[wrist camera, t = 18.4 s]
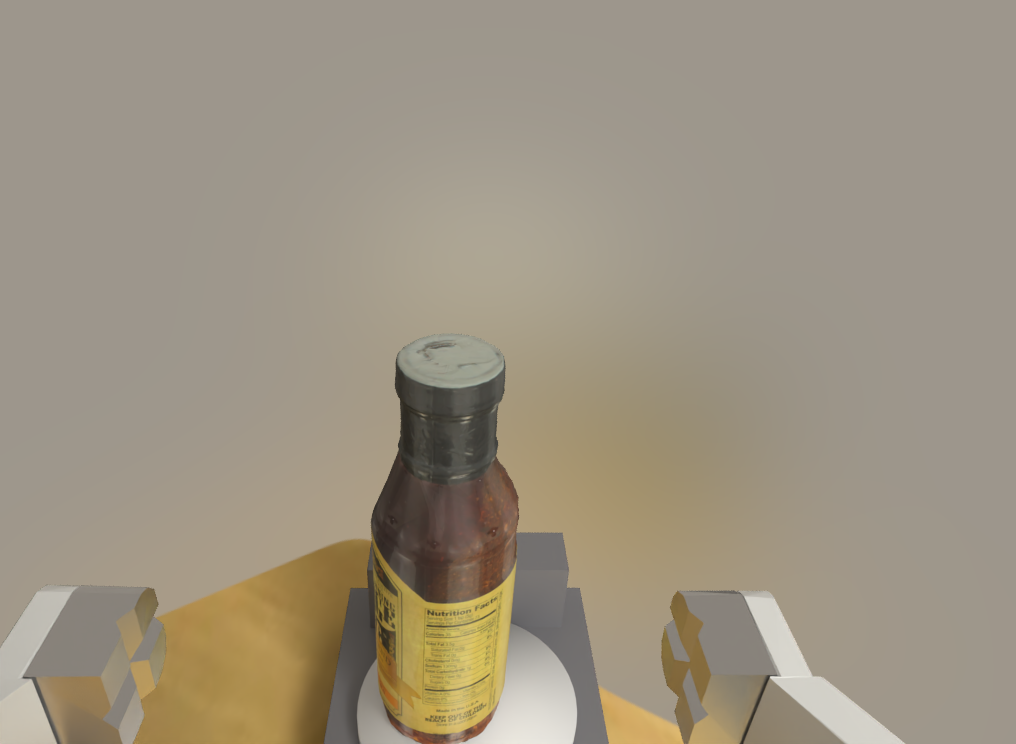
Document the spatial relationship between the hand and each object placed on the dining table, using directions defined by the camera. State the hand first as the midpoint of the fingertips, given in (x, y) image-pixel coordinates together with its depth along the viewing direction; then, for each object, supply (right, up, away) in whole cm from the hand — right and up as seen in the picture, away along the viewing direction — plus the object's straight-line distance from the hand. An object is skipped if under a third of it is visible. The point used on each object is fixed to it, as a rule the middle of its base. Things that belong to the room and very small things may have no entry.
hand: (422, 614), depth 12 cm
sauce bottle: (-2, -13, +25) cm, 28 cm away
